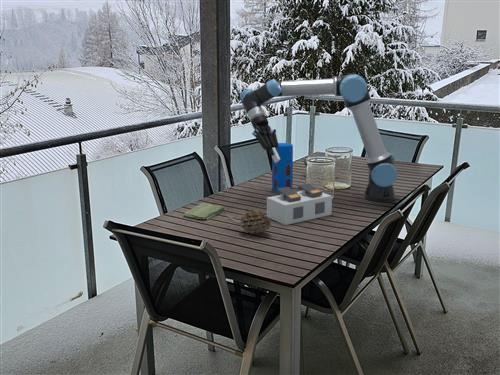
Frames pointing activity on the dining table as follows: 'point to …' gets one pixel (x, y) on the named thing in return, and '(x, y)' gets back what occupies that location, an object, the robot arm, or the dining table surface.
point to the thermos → (283, 167)
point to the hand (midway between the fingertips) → (277, 161)
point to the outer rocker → (289, 194)
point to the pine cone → (253, 222)
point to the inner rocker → (310, 190)
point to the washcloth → (204, 211)
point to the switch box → (298, 208)
